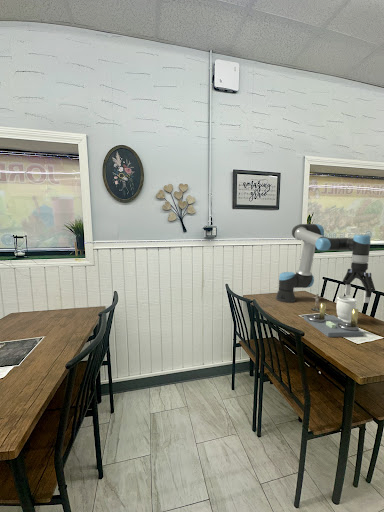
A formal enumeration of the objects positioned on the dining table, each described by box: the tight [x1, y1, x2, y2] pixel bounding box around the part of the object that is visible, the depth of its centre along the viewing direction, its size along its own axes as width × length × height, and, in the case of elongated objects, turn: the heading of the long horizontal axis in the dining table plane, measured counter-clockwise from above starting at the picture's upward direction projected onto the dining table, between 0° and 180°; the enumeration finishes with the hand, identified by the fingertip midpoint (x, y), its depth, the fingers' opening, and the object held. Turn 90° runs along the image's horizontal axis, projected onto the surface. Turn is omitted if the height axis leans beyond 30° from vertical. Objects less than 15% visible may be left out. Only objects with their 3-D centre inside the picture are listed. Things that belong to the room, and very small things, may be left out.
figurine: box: [308, 293, 324, 313], centre depth 161 cm, size 11×7×12 cm, turn 79°
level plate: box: [303, 314, 363, 338], centre depth 133 cm, size 24×20×5 cm
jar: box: [335, 295, 357, 323], centre depth 142 cm, size 11×10×15 cm
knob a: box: [306, 302, 327, 322], centre depth 138 cm, size 10×10×11 cm
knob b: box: [338, 308, 360, 331], centre depth 127 cm, size 10×10×11 cm
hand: (356, 298), depth 125 cm, fingers open, 13 cm apart
